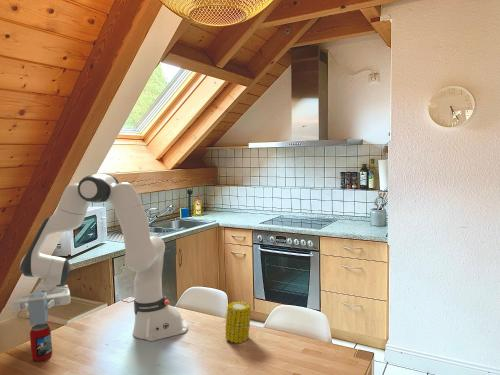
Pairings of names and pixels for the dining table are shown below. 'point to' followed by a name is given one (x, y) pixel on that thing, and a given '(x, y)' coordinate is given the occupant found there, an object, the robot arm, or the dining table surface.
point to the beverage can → (41, 342)
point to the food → (238, 321)
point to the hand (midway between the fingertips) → (37, 308)
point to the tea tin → (37, 308)
